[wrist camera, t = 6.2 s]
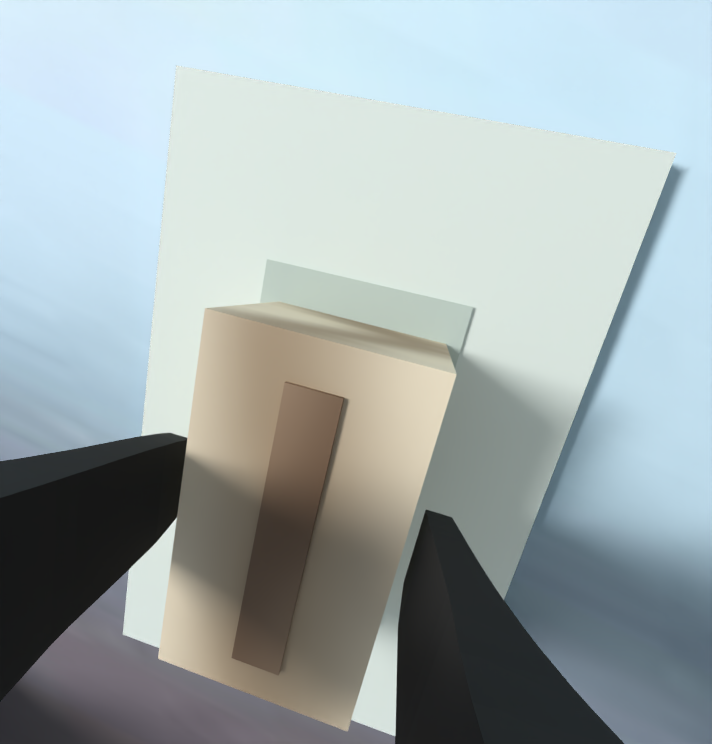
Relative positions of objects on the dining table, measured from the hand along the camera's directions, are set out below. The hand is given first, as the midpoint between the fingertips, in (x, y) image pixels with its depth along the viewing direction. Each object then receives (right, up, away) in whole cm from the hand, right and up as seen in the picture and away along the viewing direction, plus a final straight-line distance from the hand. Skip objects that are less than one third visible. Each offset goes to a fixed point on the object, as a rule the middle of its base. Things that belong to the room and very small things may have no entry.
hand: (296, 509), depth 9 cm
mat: (+1, +1, +3) cm, 4 cm away
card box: (+1, 0, +3) cm, 3 cm away
